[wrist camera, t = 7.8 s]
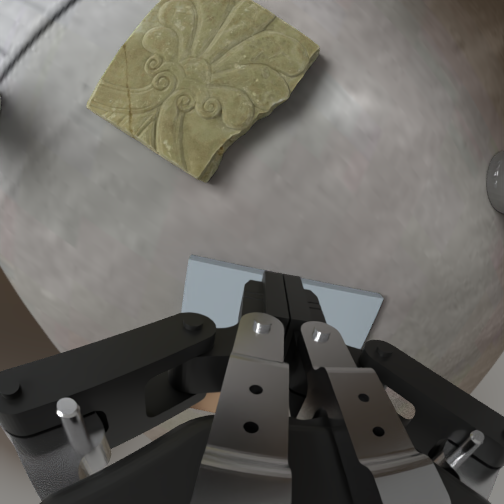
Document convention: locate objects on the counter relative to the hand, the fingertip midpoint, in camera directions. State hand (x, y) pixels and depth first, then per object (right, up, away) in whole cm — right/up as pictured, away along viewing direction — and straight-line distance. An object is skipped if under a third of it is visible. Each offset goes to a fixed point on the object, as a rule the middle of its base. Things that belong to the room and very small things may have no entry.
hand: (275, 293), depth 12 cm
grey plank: (+2, -7, +25) cm, 26 cm away
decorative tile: (-6, +21, +16) cm, 27 cm away
